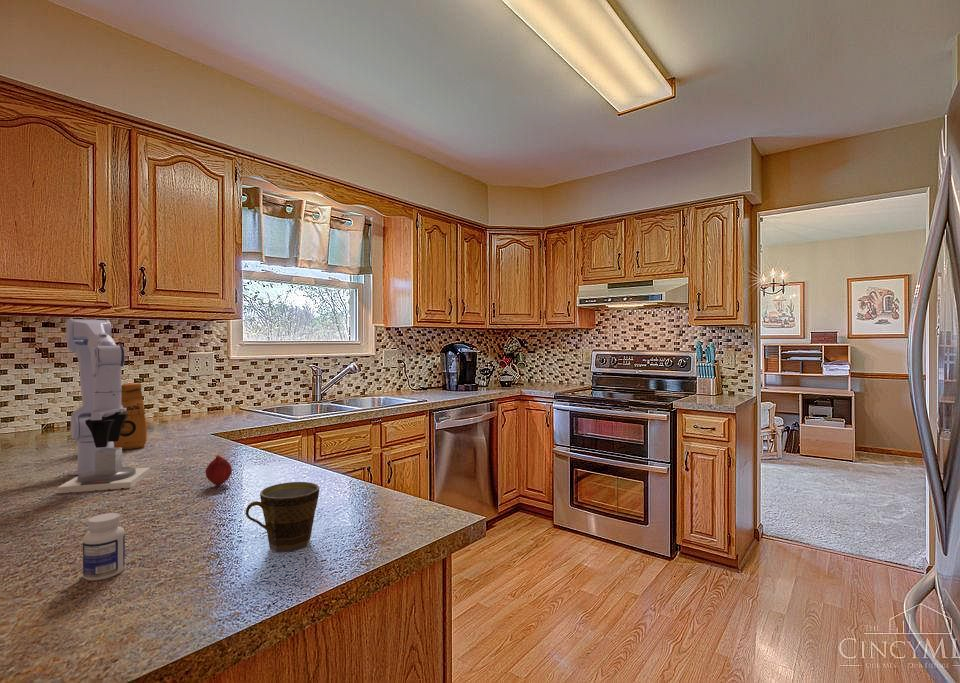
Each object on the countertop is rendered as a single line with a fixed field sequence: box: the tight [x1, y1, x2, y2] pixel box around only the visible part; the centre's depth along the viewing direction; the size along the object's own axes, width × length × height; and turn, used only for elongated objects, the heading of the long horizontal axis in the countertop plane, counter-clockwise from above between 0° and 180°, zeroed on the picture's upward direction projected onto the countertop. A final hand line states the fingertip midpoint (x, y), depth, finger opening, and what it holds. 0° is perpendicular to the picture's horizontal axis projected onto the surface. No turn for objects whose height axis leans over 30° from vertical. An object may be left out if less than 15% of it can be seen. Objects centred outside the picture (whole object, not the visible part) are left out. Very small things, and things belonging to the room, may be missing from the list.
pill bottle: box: [82, 512, 126, 582], centre depth 78 cm, size 5×5×9 cm
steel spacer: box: [95, 447, 123, 475], centre depth 128 cm, size 4×4×6 cm
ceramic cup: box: [245, 481, 320, 553], centre depth 87 cm, size 13×10×10 cm
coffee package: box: [113, 383, 148, 450], centre depth 168 cm, size 10×12×22 cm
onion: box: [205, 453, 233, 487], centre depth 125 cm, size 6×6×8 cm
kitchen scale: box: [57, 466, 151, 494], centre depth 127 cm, size 15×15×2 cm
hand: (107, 444), depth 127 cm, fingers open, 7 cm apart
